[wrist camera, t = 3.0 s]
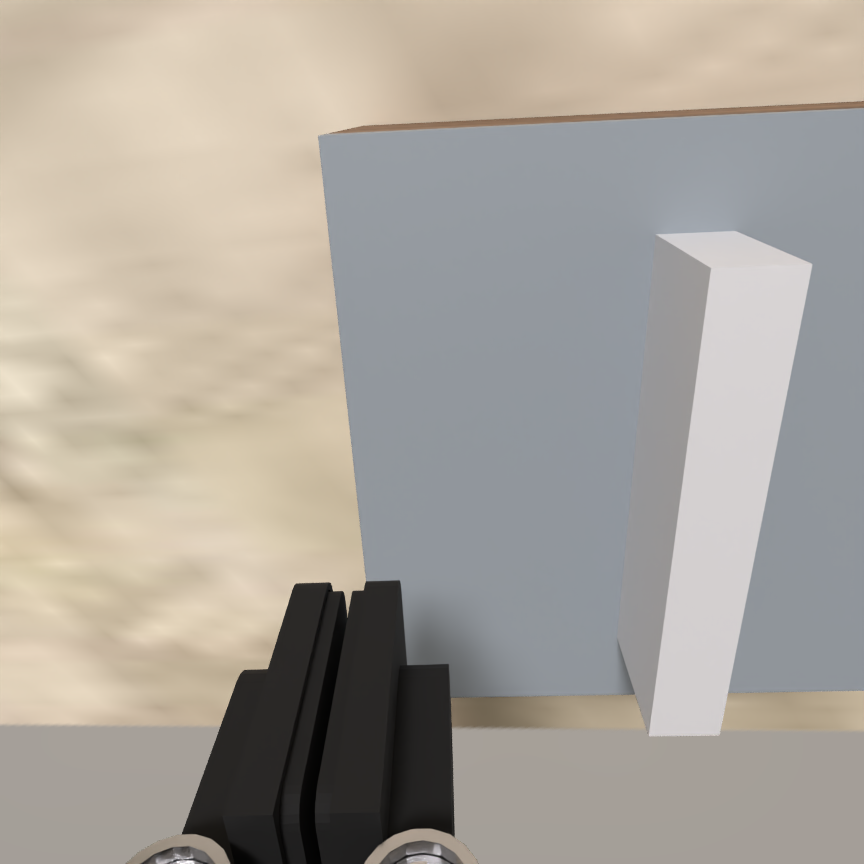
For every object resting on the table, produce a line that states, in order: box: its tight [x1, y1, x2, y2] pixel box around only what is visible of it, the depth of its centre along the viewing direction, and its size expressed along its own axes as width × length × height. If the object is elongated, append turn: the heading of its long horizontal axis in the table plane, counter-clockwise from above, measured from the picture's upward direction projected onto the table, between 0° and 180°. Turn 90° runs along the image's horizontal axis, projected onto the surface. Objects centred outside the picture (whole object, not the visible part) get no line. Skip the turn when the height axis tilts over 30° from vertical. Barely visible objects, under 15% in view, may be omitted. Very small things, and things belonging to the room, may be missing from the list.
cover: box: [318, 108, 864, 736], centre depth 14 cm, size 14×14×4 cm
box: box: [329, 101, 864, 134], centre depth 19 cm, size 14×14×6 cm
